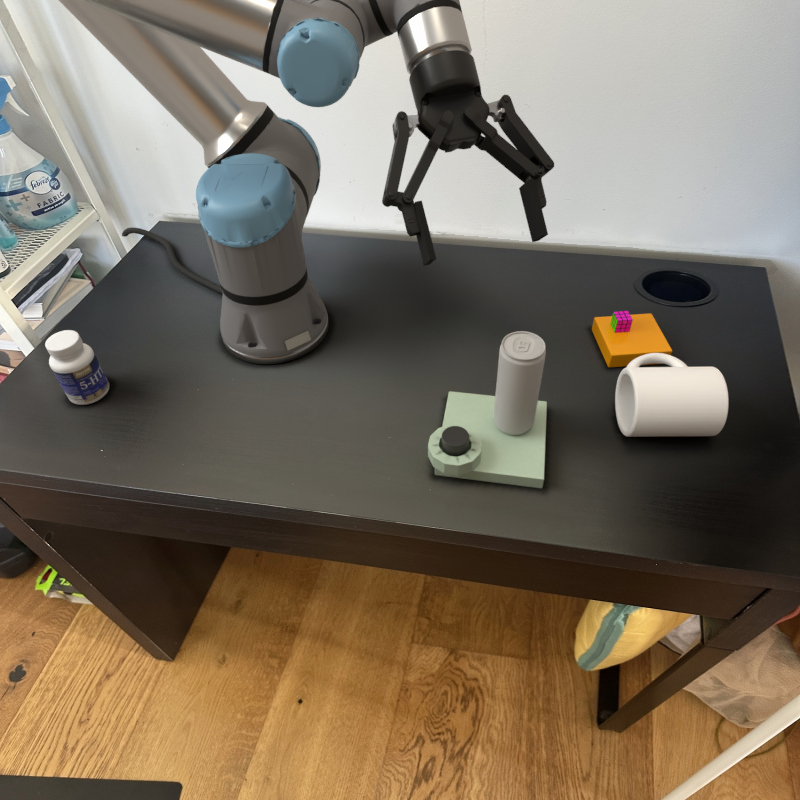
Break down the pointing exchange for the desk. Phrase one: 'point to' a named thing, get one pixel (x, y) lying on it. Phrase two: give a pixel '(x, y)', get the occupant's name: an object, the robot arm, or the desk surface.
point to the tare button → (455, 441)
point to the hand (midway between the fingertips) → (486, 250)
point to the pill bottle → (76, 368)
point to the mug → (670, 398)
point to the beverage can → (518, 381)
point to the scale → (490, 444)
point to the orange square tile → (628, 337)
